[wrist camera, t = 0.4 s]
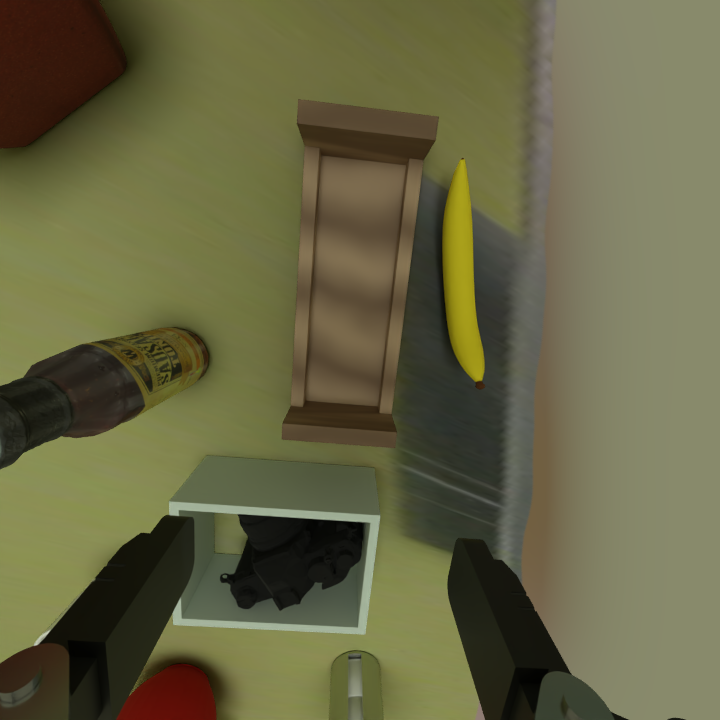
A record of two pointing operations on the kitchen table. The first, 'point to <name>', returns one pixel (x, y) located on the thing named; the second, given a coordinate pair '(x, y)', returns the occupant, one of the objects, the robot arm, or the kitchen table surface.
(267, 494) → the camera caddy
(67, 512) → the kitchen table surface
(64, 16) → the plant pot
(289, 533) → the film camera
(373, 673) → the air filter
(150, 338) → the sauce bottle
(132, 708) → the ceramic cup
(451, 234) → the banana
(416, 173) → the cradle
